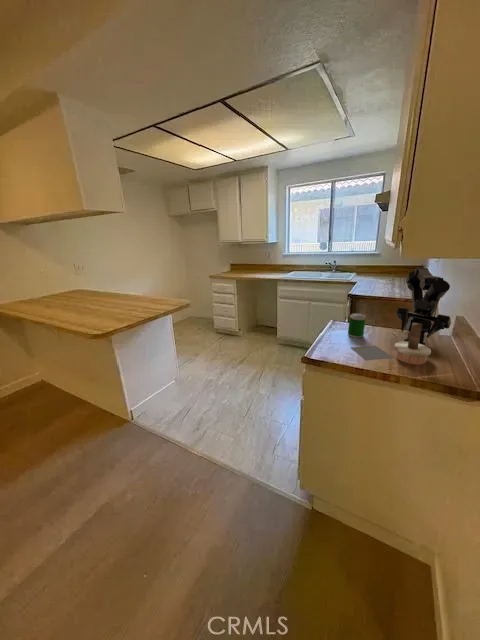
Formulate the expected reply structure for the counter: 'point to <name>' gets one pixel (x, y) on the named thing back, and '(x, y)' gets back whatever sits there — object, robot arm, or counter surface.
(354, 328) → the soda can
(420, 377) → the counter surface
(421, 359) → the bowl
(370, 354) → the mat
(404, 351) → the lid
